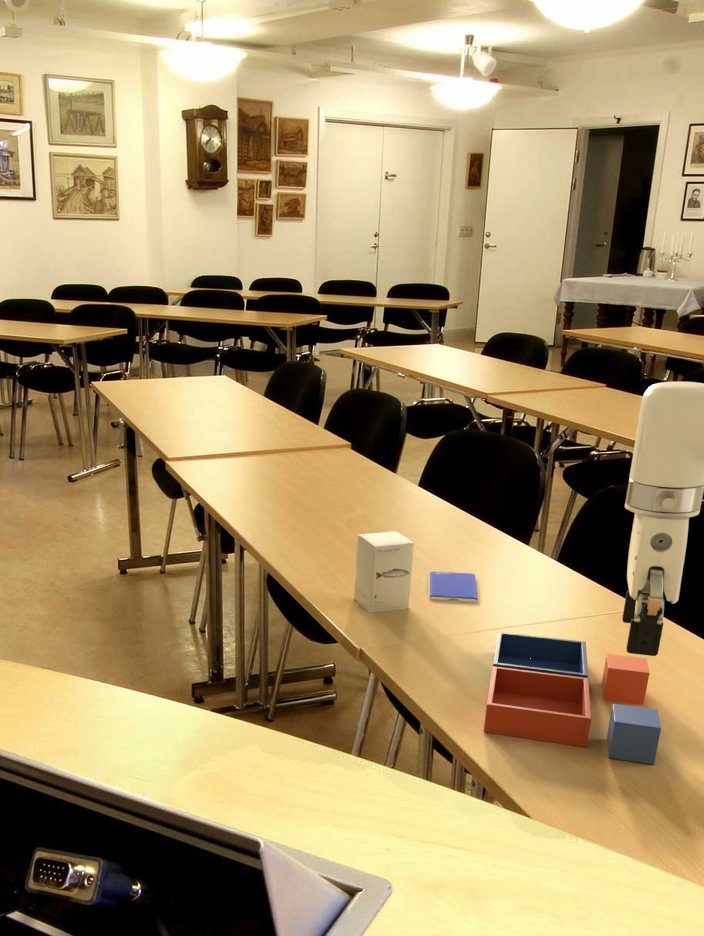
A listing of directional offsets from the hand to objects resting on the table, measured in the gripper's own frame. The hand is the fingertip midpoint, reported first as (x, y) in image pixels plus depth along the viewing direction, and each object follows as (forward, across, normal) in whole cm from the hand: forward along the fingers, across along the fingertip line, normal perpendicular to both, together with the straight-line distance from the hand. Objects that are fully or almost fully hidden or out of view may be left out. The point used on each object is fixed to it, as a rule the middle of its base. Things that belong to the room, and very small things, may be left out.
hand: (638, 637), depth 108 cm
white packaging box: (+14, +38, +36) cm, 55 cm away
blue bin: (+14, +17, +10) cm, 25 cm away
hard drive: (+14, +49, +26) cm, 57 cm away
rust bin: (+14, +4, +10) cm, 18 cm away
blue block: (+14, -1, -1) cm, 15 cm away
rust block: (+14, +15, -1) cm, 21 cm away
